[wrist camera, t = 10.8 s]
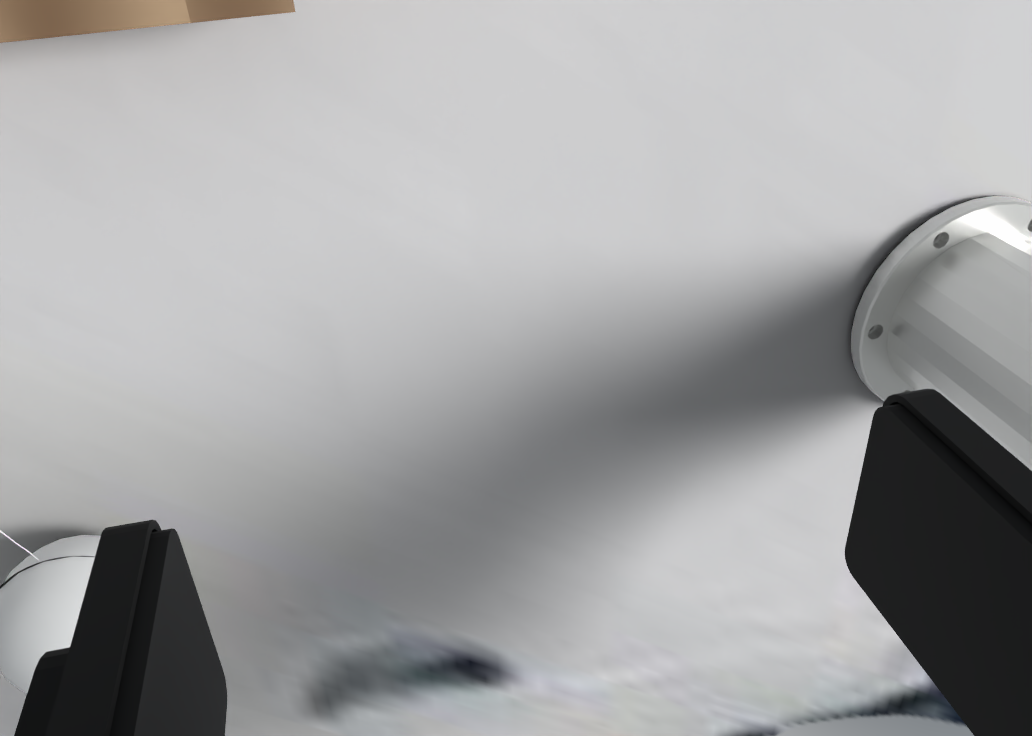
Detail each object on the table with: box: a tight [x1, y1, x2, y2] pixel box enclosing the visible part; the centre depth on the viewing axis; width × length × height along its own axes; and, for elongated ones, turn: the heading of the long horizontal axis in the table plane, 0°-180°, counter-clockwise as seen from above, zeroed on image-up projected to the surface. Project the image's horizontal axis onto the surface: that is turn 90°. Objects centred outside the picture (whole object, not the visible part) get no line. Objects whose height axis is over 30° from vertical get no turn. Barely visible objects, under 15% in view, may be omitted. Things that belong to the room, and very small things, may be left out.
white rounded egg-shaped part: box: [0, 530, 101, 694], centre depth 38 cm, size 10×7×7 cm
